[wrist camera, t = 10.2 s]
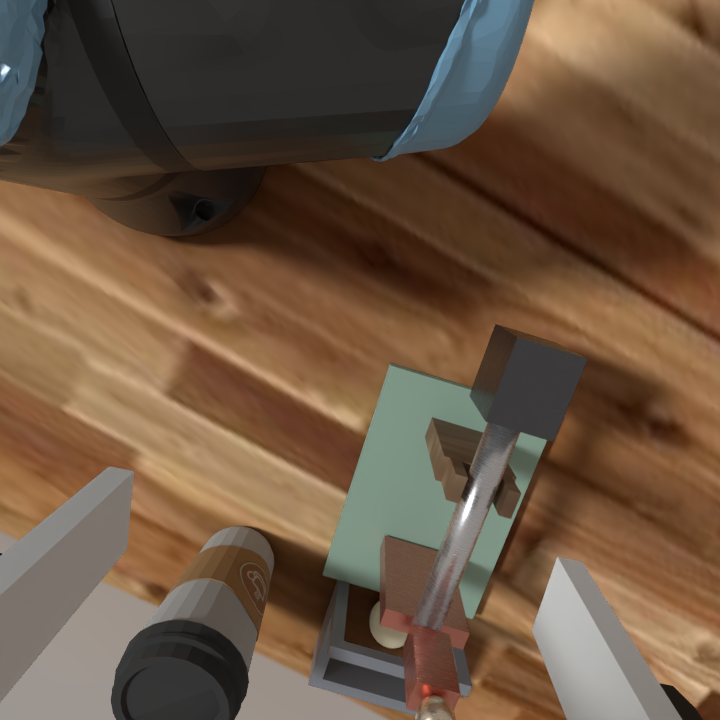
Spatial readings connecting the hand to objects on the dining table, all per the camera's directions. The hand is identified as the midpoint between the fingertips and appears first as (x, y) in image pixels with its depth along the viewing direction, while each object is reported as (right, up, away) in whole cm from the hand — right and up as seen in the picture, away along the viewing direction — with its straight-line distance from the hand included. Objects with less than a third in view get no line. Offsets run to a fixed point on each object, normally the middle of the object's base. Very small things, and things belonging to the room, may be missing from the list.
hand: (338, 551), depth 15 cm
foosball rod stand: (+8, -1, +24) cm, 26 cm away
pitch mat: (+7, -6, +27) cm, 28 cm away
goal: (+3, -19, +30) cm, 35 cm away
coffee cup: (-10, -12, +29) cm, 33 cm away
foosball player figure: (+9, 0, +25) cm, 27 cm away
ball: (+3, -17, +27) cm, 32 cm away
